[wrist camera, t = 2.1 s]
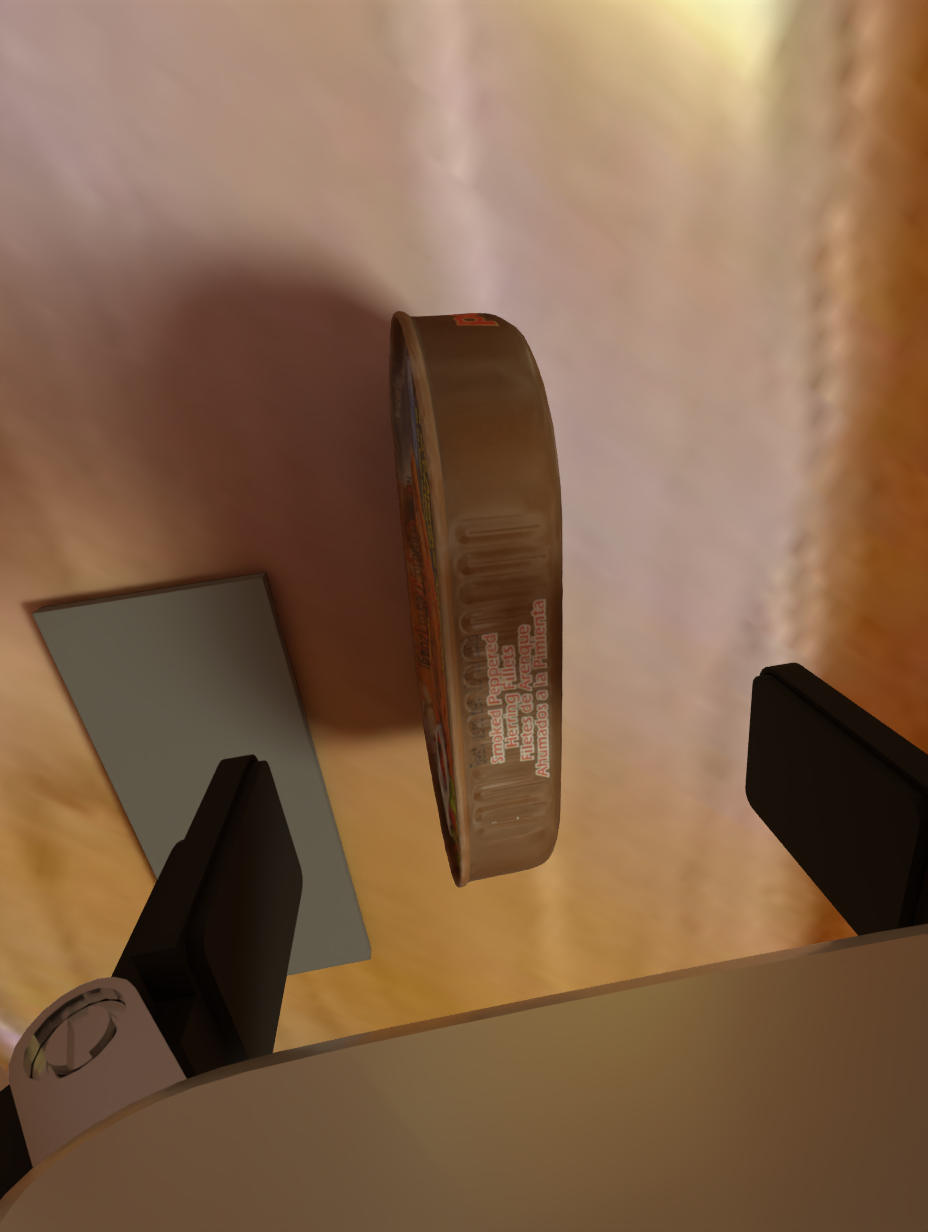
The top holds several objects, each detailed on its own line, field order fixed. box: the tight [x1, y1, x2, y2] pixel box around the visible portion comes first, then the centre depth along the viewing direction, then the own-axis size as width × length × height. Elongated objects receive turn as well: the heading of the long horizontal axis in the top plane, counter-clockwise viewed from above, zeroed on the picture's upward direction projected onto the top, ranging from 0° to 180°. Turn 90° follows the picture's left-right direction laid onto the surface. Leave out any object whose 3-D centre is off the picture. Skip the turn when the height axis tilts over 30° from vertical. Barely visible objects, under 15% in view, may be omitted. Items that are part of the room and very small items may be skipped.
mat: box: [32, 573, 371, 976], centre depth 22 cm, size 18×7×1 cm, turn 7°
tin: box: [389, 311, 563, 888], centre depth 16 cm, size 15×3×8 cm, turn 3°
